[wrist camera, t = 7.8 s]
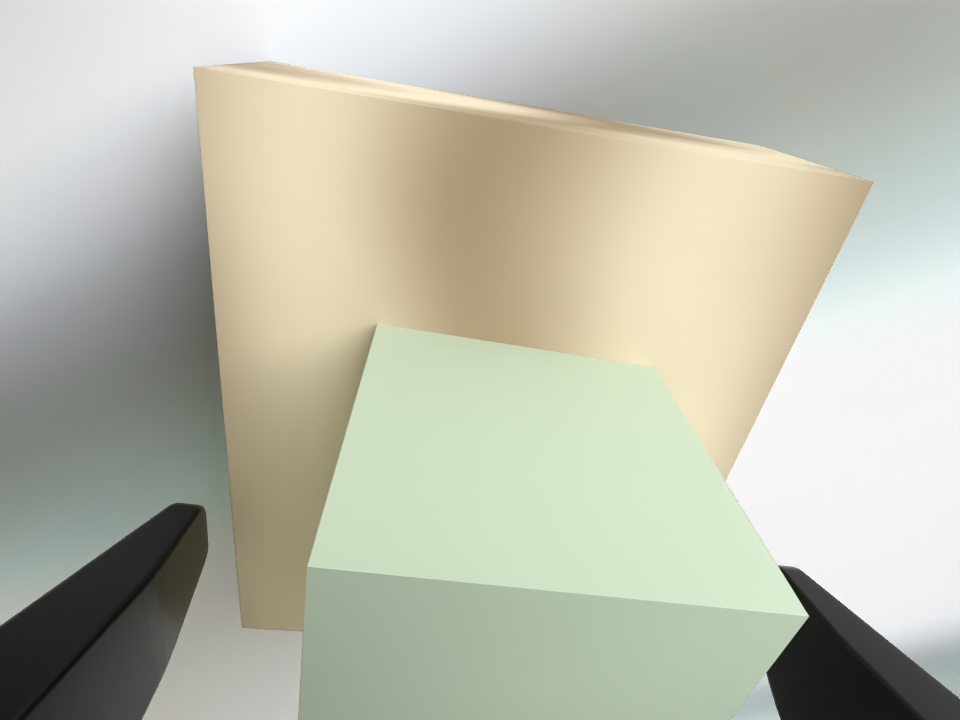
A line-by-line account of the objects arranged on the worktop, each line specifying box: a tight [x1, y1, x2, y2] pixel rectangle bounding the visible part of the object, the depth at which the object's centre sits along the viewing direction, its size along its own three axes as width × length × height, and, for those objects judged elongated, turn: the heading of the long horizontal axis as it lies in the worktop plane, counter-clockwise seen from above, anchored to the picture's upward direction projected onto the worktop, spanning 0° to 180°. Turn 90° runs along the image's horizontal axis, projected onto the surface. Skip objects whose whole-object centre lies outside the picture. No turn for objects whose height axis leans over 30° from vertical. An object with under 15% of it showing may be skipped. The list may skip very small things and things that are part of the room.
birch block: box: [193, 61, 873, 631], centre depth 12 cm, size 10×12×4 cm
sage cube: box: [298, 324, 809, 720], centre depth 9 cm, size 5×5×5 cm
